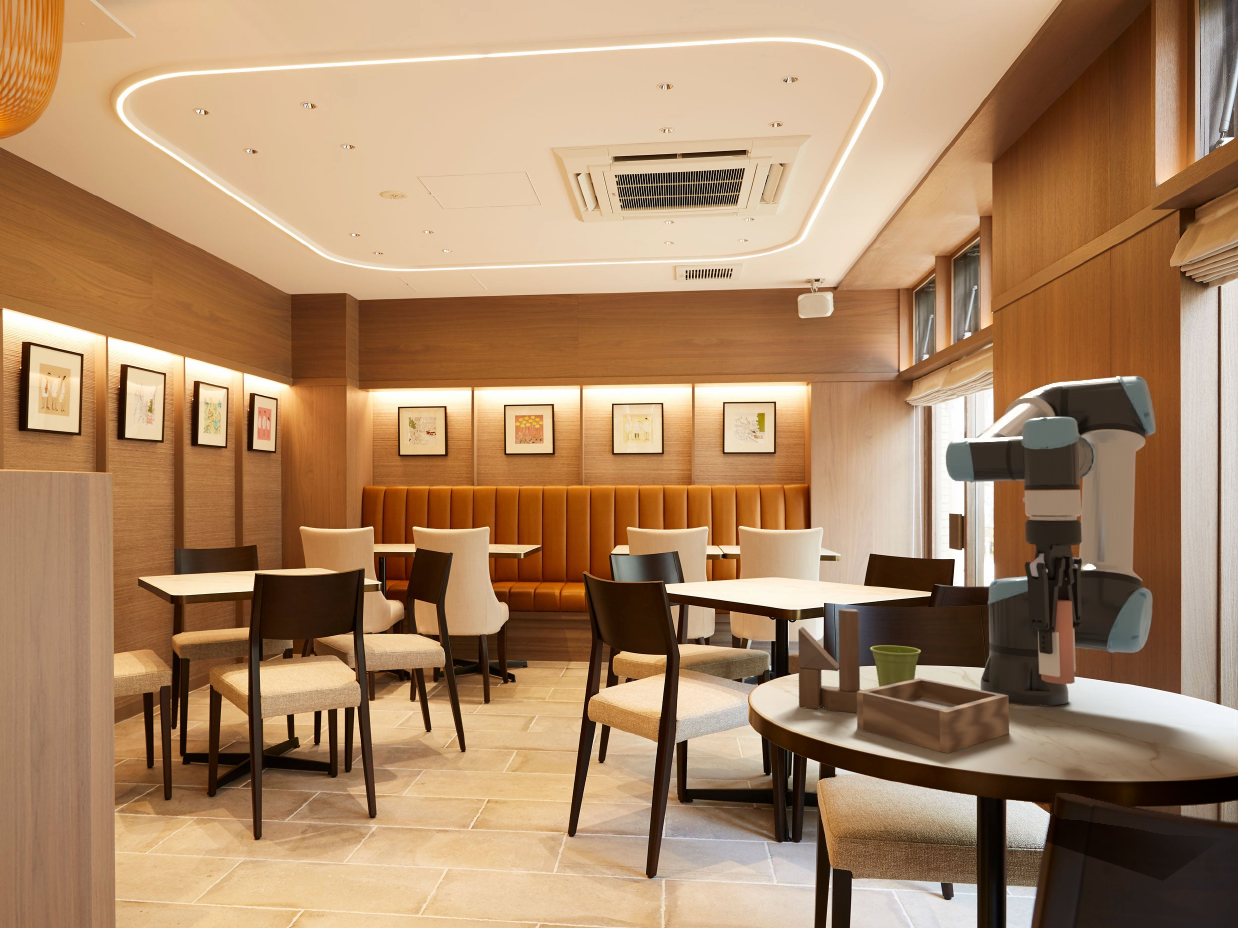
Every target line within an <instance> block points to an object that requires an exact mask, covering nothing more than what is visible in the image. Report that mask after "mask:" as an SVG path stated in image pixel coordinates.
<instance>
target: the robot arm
mask: <svg viewBox="0 0 1238 928" xmlns="http://www.w3.org/2000/svg"><path fill="white" fill-rule="evenodd" d="M1156 427H1157V426H1156V418H1155V411H1154V407H1153V402H1152V397H1151V393H1150V389H1149V386H1148V383H1147V381H1146V380H1145V379H1144V378H1143V377H1141V376H1138V375H1137V376H1136V375H1131V376H1129V375H1128V376H1120V375H1118V376H1116V377H1115V376H1114V377H1105V378H1104V377H1103V378H1096V379H1085V380H1073V381H1072V380H1071V381H1060V382H1054V383H1051V384H1047V385H1044V386H1043V385H1042V386H1041V387H1038V388H1036V389H1033V390H1031V391H1029V392H1027V393H1025V394H1023V395H1021V396H1020V397H1018V398H1017V399H1014V401H1012V402H1011V403H1010V404H1008V406H1007V408H1006V410H1005V411H1004V413H1003V416H1002V417H1000V418H999V419H998V420H996V421H995V422H994V423H993V424H991V425H990V426H989V427H987V428H986V429H985V430H984V431H982V432H981V433H980V434H979V435H978V436H976V437H975V438H966V437H964V438H963V439H955V440H952V441H950V442H949V444H947V445H948V446H947V447H946V451H945V466H946V470H947V474H948V476H949V477H950V478H951V480H953V481H955V482H969V483H978V482H979V483H980V482H1011V481H1014V482H1015V481H1016V482H1017V481H1018V482H1020V481H1022V482H1024V483H1023V485H1024V497H1023V498H1022V502H1023V503H1024V514H1025V515H1026V517H1029V519H1027V520H1026V521H1025V522H1024V527H1025V542H1026V543H1027V544H1030V545H1035V552H1034V560H1033V561H1026V562H1025V563H1024V570H1025V574H1026V575H1025V576H1018V577H1017V576H1014V577H1005V578H1004V577H1003V578H997V579H994V580H993V581H991V583H990V584H989V587H988V601H987V607H988V631H989V635H988V636H989V637H988V638H989V640H988V641H989V654H988V655H989V656H988V658H987V661H986V664H985V667H984V670H983V672H982V674H981V675H982V676H981V679H980V690H982V691H988V692H993V693H998V694H1003V695H1008V697H1009V703H1010V704H1011V703H1012V704H1016V705H1017V704H1018V705H1020V704H1021V705H1026V706H1027V705H1028V706H1045V707H1046V706H1059V705H1065V704H1067V703H1069V701H1070V699H1069V687H1068V686H1067V685H1068V684H1057V683H1050V682H1046V681H1043V680H1042V679H1041V674H1044V675H1049V676H1055V677H1059V676H1060V653H1059V632H1055V628H1056V614H1057V600H1058V599H1059V600H1068V601H1072V617H1073V648H1074V673H1075V672H1076V668H1077V667H1076V648H1077V649H1078V648H1079V649H1087V650H1095V651H1096V650H1097V651H1107V652H1109V653H1112V654H1113V653H1128V654H1129V653H1137V652H1139V651H1141V650H1142V649H1143V648H1144V647H1145V644H1146V642H1147V640H1148V636H1149V634H1150V630H1151V629H1150V628H1151V624H1152V617H1153V600H1154V599H1153V595H1152V591H1151V590H1150V589H1147V588H1146V587H1143V579H1142V578H1141V577H1140V576H1139V575H1138V574H1136V572H1134V570H1133V569H1134V532H1135V531H1134V530H1135V529H1134V528H1135V527H1134V526H1135V524H1134V523H1135V492H1136V491H1135V490H1136V487H1135V486H1136V452H1138V451H1139V450H1140V449H1142V448H1143V447H1145V445H1146V436H1151V435H1154V434H1155V433H1156V430H1157V429H1156ZM1080 479H1082V488H1080V487H1081V485H1080ZM1081 489H1082V491H1081ZM1078 517H1080V520H1079V519H1078ZM1072 546H1079V554H1078V557H1074V556H1073V555H1074V554H1073V551H1072Z"/></svg>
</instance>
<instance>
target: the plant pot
mask: <svg viewBox="0 0 1238 928" xmlns="http://www.w3.org/2000/svg"><path fill="white" fill-rule="evenodd" d="M869 649H870V651H871V652H872V655H873V659H874V662H875V667H876V674H877V675H876V676H877V681H878V687H881V686H885V685H890V684H895V683H899V682H904V681H909V680H913V679H916V670H917V663H918V660H919V656H920V655H919V654H921V652H922V651H921V649H919V648H916V647H913V646H912V647H911V646H903V645H902V646H901V645H874V646H871V647H870V648H869Z"/></svg>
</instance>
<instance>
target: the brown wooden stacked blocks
mask: <svg viewBox="0 0 1238 928" xmlns="http://www.w3.org/2000/svg"><path fill="white" fill-rule="evenodd" d="M837 613H838V662H837V661H836V660H835V659H834V658H833V657H832V656H831V655H830V654H829V653H828V651H827V650H825V648H824V647H822V645H821V644H820V643H819V642H818V640H817V639H815V638H814V637H813V635H811V633H810V632H808V631H807V629H806V628H805V627H804V626H801V627H800V628H799V629H798V631H797V633H798V636H797V637H798V706H799V707H800V708H801V707H806V708H805V709H810V708H816V709H815V710H819V709H820V707H821V708H823V707H824V708H823V709H825V708H826V710H829V711H832V710H833V711H835V712H841V711H843V712H842V713H852V714H853V713H854V714H857V692H858V691H862V690H863V689H861V681H860V680H861V677H860V676H861V675H860V674H861V673H860V672H861V671H860V670H861V669H860V668H861V667H860V660H861V659H860V657H861V656H860V611H859V610H858V609H855V608H840V609H838V612H837ZM823 670H824V671H834V672H837V671H838V677H839V679H838V682H839V683H838V684H839V685H838V687H837V686H828V685H822V671H823ZM818 708H819V709H818ZM833 711H832V712H833Z"/></svg>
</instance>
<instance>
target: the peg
mask: <svg viewBox="0 0 1238 928" xmlns="http://www.w3.org/2000/svg"><path fill="white" fill-rule="evenodd" d="M1055 632H1059V653H1060V676H1059V677H1055V676H1049V675H1044V674H1041V679H1042V680H1043V681H1046V682H1050V683H1057V684H1066V685H1071V684H1075V672H1074V648H1073V617H1072V601H1068V600H1059V599H1058V600H1057V614H1056V628H1055Z"/></svg>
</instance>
